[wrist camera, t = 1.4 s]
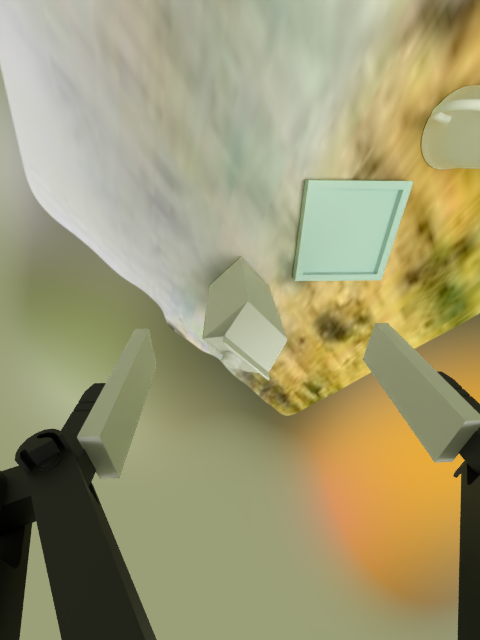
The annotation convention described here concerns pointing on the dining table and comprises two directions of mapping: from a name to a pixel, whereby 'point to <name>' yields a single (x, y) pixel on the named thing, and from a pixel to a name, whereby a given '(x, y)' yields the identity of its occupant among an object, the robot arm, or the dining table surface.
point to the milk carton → (243, 320)
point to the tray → (348, 228)
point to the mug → (454, 131)
